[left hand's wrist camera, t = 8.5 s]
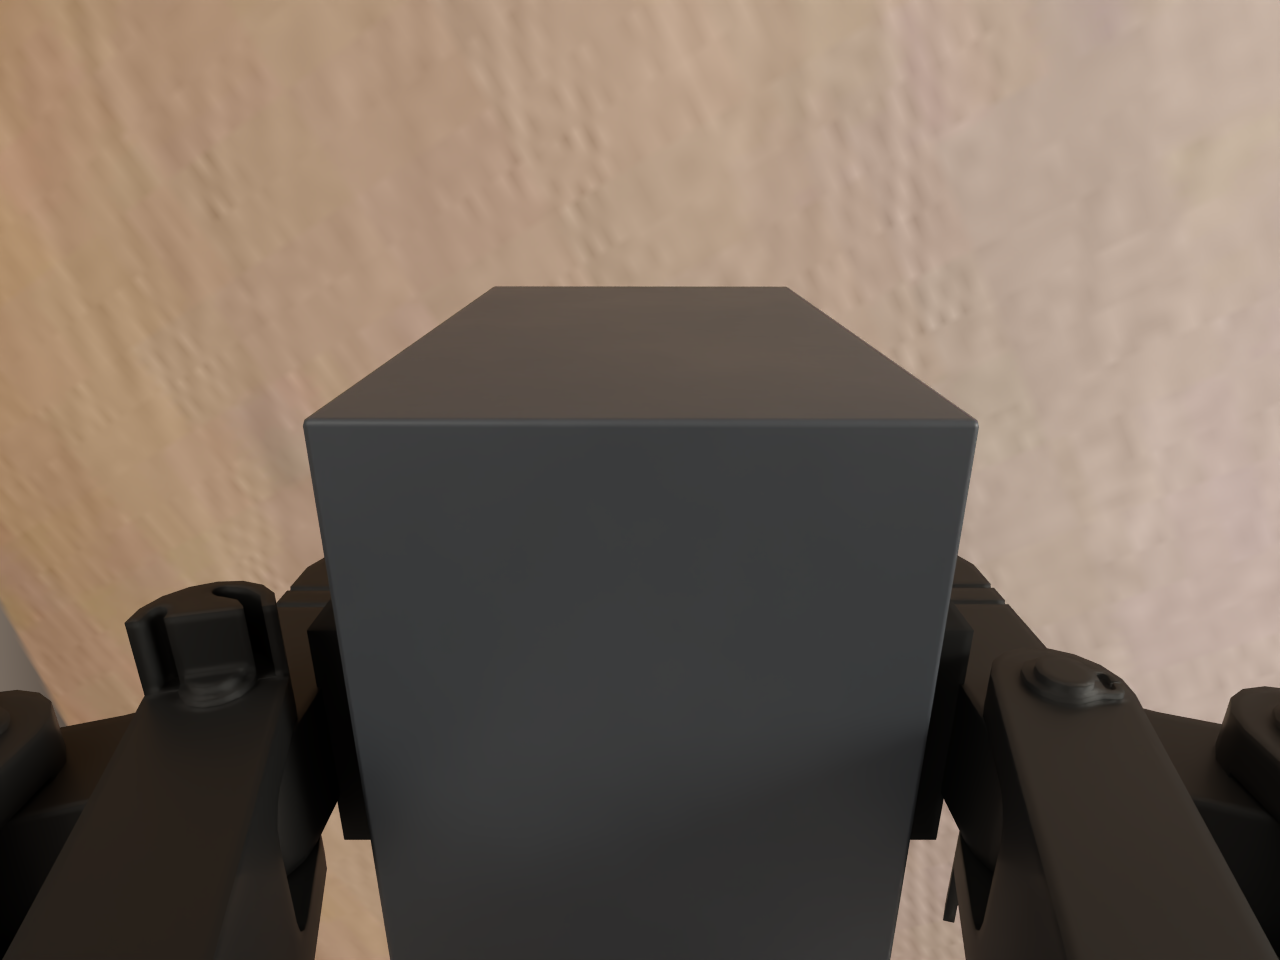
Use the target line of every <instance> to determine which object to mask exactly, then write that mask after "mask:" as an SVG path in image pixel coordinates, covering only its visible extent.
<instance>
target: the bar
mask: <svg viewBox="0 0 1280 960" xmlns="http://www.w3.org/2000/svg"><path fill="white" fill-rule="evenodd" d="M978 428H979V425H978V421H977V420H976V419H975V418H973V417H972V416H970V415H969V414H967V413H966V412H965V411H963V410H962V409H960V408H959V407H957V406H956V405H955V404H953V403H952V402H950V401H949V400H947V399H946V398H945V397H943V396H942V395H940V394H939V393H937V392H936V391H935V390H933V389H932V388H930V387H929V386H927V385H926V384H925V383H923V382H922V381H920V380H919V379H917V378H916V377H915V376H913V375H912V374H910V373H909V372H907V371H906V370H905V369H903V368H902V367H900V366H899V365H898V364H896V363H895V362H893V361H892V360H890V359H889V358H888V357H886V356H885V355H883V354H882V353H880V352H879V351H878V350H876V349H875V348H873V347H872V346H870V345H869V344H868V343H866V342H865V341H863V340H862V339H860V338H859V337H858V336H856V335H855V334H853V333H852V332H850V331H849V330H848V329H846V328H845V327H843V326H842V325H840V324H839V323H838V322H836V321H835V320H833V319H832V318H830V317H829V316H828V315H826V314H825V313H823V312H822V311H820V310H819V309H818V308H816V307H815V306H813V305H812V304H811V303H809V302H808V301H806V300H805V299H803V298H802V297H801V296H799V295H798V294H796V293H795V292H793V291H792V290H791V289H789V288H787V287H493V288H491V289H490V290H489V291H487V292H486V293H484V294H483V295H482V296H480V297H479V298H477V299H476V300H474V301H473V302H472V303H470V304H469V305H467V306H466V307H464V308H463V309H462V310H460V311H459V312H457V313H456V314H454V315H453V316H452V317H450V318H449V319H447V320H446V321H444V322H443V323H442V324H440V325H439V326H437V327H436V328H434V329H433V330H432V331H430V332H429V333H427V334H426V335H425V336H423V337H422V338H420V339H419V340H417V341H416V342H415V343H413V344H412V345H410V346H409V347H407V348H406V349H405V350H403V351H402V352H400V353H399V354H397V355H396V356H395V357H393V358H392V359H390V360H389V361H387V362H386V363H385V364H383V365H382V366H380V367H379V368H378V369H376V370H375V371H373V372H372V373H370V374H369V375H368V376H366V377H365V378H363V379H362V380H360V381H359V382H358V383H356V384H355V385H353V386H352V387H350V388H349V389H348V390H346V391H345V392H343V393H342V394H340V395H339V396H338V397H336V398H335V399H333V400H332V401H331V402H329V403H328V404H326V405H325V406H323V407H322V408H321V409H319V410H318V411H316V412H315V413H313V414H312V415H311V416H309V417H308V418H306V419H305V420H304V424H303V429H304V435H305V441H306V447H307V453H308V459H309V465H310V471H311V478H312V484H313V490H314V496H315V502H316V508H317V514H318V520H319V527H320V533H321V539H322V545H323V551H324V557H325V563H326V569H327V575H328V582H329V588H330V594H331V600H332V606H333V612H334V618H335V624H336V631H337V637H338V643H339V649H340V655H341V661H342V667H343V673H344V679H345V686H346V692H347V698H348V704H349V710H350V716H351V722H352V728H353V735H354V741H355V747H356V753H357V759H358V765H359V771H360V777H361V784H362V790H363V796H364V802H365V808H366V814H367V820H368V826H369V832H370V839H371V845H372V851H373V857H374V863H375V869H376V875H377V881H378V888H379V894H380V900H381V906H382V912H383V918H384V924H385V930H386V936H387V943H388V949H389V955H390V960H890V957H891V951H892V945H893V939H894V933H895V927H896V921H897V915H898V909H899V903H900V897H901V891H902V885H903V879H904V873H905V867H906V861H907V855H908V849H909V843H910V837H911V831H912V825H913V819H914V813H915V807H916V801H917V795H918V789H919V783H920V777H921V771H922V765H923V759H924V753H925V747H926V741H927V735H928V729H929V723H930V717H931V711H932V705H933V699H934V693H935V687H936V681H937V675H938V669H939V663H940V657H941V651H942V645H943V639H944V633H945V627H946V621H947V615H948V609H949V603H950V597H951V590H952V584H953V578H954V572H955V566H956V560H957V554H958V548H959V542H960V536H961V530H962V524H963V518H964V512H965V506H966V500H967V494H968V488H969V482H970V476H971V470H972V464H973V458H974V452H975V446H976V440H977V434H978Z"/></svg>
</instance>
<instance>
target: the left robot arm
mask: <svg viewBox="0 0 1280 960" xmlns="http://www.w3.org/2000/svg"><path fill="white" fill-rule="evenodd" d="M990 585H991V584H990V583H989V582H988V581H987V579H986V578H985V577H984V576H983V575H982V574H981V573H980V571H979V570H978V569H977V568H976V567H975V566H974V565H973V564H971V563H970V562H968V561H966V560H965V559H963V558H961V557H959V556H958V555H957V560H956V566H955V572H954V578H953V584H952V590H951V597H950V603H949V609H948V615H947V621H946V627H945V633H944V639H943V645H942V651H941V657H940V663H939V669H938V675H937V681H936V687H935V693H934V699H933V705H932V711H931V717H930V723H929V729H928V735H927V741H926V747H925V753H924V759H923V765H922V771H921V777H920V783H919V789H918V795H917V801H916V807H915V813H914V819H913V825H912V831H911V837H910V840H936V838H937V832H938V827H939V821H940V816H941V810H942V805H943V799H944V800H945V802H946V804H947V806H948V808H949V810H950V812H951V814H952V816H953V818H954V820H955V822H956V824H957V826H958V828H959V830H960V831H959V836H958V841H957V847H956V852H955V857H954V862H953V867H952V872H951V878H950V883H949V888H948V893H947V898H946V903H945V911H944V918H943V920H944V921H949V922H953V923H954V920H955V915H956V910H957V906H959V913H960V920H961V928H962V935H963V942H964V949H965V957H966V960H1280V688H1274V687H1266V686H1264V687H1256V688H1248V689H1242V690H1241V691H1240V692H1238V693H1237V694H1235V695H1234V696H1233V697H1231V699H1230V702H1229V705H1228V708H1227V711H1226V714H1225V717H1224V720H1223V723H1222V724H1217V723H1212V722H1207V721H1202V720H1196V719H1191V718H1186V717H1181V716H1175V715H1170V714H1165V713H1160V712H1155V711H1151V710H1147V709H1143V708H1142V706H1141V704H1140V702H1139V700H1138V698H1137V696H1136V695H1135V694H1134V692H1133V691H1132V690H1131V689H1130V688H1129V687H1128V685H1127V684H1126V683H1125V682H1124V681H1123V680H1122V679H1121V678H1120V677H1118V676H1117V675H1115V674H1113V673H1112V672H1110V671H1109V670H1107V669H1106V668H1104V667H1103V666H1101V665H1099V664H1097V663H1094V662H1092V661H1089V660H1087V659H1084V658H1082V657H1079V656H1077V655H1074V654H1070V653H1066V652H1061V651H1057V650H1052V649H1048V648H1046V647H1045V646H1044V644H1043V643H1042V642H1041V641H1040V640H1039V639H1038V638H1037V636H1036V635H1035V634H1034V633H1033V632H1032V631H1031V630H1030V628H1029V627H1028V626H1027V625H1026V624H1025V623H1024V622H1023V621H1022V619H1021V618H1020V617H1019V616H1018V615H1017V614H1016V613H1015V611H1014V610H1013V609H1012V608H1011V607H1010V606H1009V605H1008V604H1005V600H1004V599H1003V598H1002V597H1001V595H1000V594H999V593H998V592H997V591H996V590H995V589H994V588H991V586H990ZM125 627H126V630H127V634H128V637H129V641H130V645H131V648H132V652H133V655H134V659H135V663H136V666H137V670H138V673H139V677H140V681H141V684H142V688H143V691H144V695H145V696H144V698H143V700H142V702H141V703H140V705H139V707H138V709H137V711H136V713H132V714H128V715H124V716H119V717H113V718H108V719H103V720H98V721H93V722H87V723H82V724H77V725H72V726H66V727H61V728H60V727H59V724H58V721H57V718H56V715H55V712H54V709H53V706H52V703H51V701H50V700H48V699H47V698H46V697H44V696H43V695H42V694H40V693H37V692H29V691H21V690H13V691H4V692H0V960H314V959H315V951H316V944H317V937H318V929H319V922H320V915H321V907H322V900H323V893H324V886H325V878H326V871H327V866H326V859H325V852H324V847H323V841H322V836H321V834H322V832H323V830H324V828H325V825H326V823H327V821H328V819H329V817H330V815H331V813H332V811H333V809H334V807H335V805H336V803H337V801H338V807H339V813H340V818H341V824H342V829H343V835H344V840H371V839H370V832H369V826H368V820H367V814H366V808H365V802H364V796H363V790H362V784H361V777H360V771H359V765H358V759H357V753H356V747H355V741H354V735H353V728H352V722H351V716H350V710H349V704H348V698H347V692H346V686H345V679H344V673H343V667H342V661H341V655H340V649H339V643H338V637H337V631H336V624H335V618H334V612H333V606H332V600H331V594H330V588H329V582H328V575H327V569H326V563H325V557H324V558H323V559H321V560H319V561H318V562H316V563H314V564H312V565H311V566H309V567H307V568H306V570H305V571H304V572H303V573H302V574H301V575H300V576H299V578H298V579H297V580H296V581H295V582H294V583H293V585H292V586H291V590H290V591H286V593H285V594H284V595H283V596H282V597H281V598H280V600H279V601H278V602H277V603H276V599H275V594H274V592H272V591H271V590H269V589H268V588H267V587H265V586H264V585H261V584H256V583H251V582H246V581H225V582H214V583H208V584H203V585H198V586H193V587H188V588H185V589H183V590H180V591H177V592H174V593H171V594H168V595H165V596H162V597H160V598H159V599H157V600H155V601H153V602H151V603H149V604H147V605H146V606H144V607H142V608H140V609H139V610H138V611H137V612H136V613H134V614H133V615H132V616H131V617H130V618H129V619H128V620H127V621H126V622H125Z"/></svg>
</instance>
